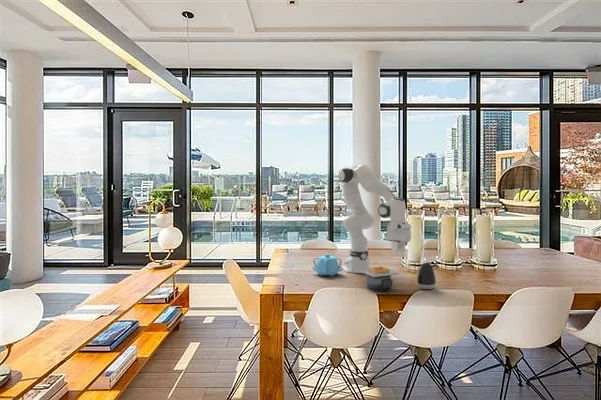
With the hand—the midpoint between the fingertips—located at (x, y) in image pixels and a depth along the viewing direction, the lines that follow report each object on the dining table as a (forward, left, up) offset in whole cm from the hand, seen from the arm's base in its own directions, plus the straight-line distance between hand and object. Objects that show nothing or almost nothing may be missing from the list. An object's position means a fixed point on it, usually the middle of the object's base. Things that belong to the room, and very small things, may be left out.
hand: (398, 247), depth 256 cm
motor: (+6, -17, -22) cm, 28 cm away
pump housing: (0, +1, -2) cm, 3 cm away
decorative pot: (-38, -29, -22) cm, 53 cm away
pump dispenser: (+18, +7, -22) cm, 29 cm away
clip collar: (+6, -17, -12) cm, 21 cm away
